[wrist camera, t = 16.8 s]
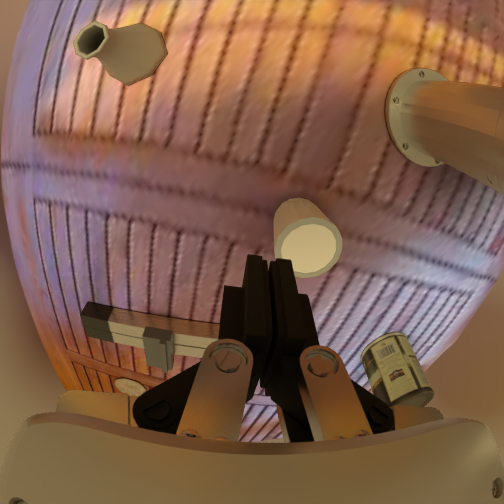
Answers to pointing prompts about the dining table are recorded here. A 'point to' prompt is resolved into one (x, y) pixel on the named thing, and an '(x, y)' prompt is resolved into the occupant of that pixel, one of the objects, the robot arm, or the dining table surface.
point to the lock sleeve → (158, 348)
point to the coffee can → (396, 372)
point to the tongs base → (141, 342)
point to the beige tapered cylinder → (305, 238)
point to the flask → (122, 49)
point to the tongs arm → (136, 322)
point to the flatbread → (130, 387)
